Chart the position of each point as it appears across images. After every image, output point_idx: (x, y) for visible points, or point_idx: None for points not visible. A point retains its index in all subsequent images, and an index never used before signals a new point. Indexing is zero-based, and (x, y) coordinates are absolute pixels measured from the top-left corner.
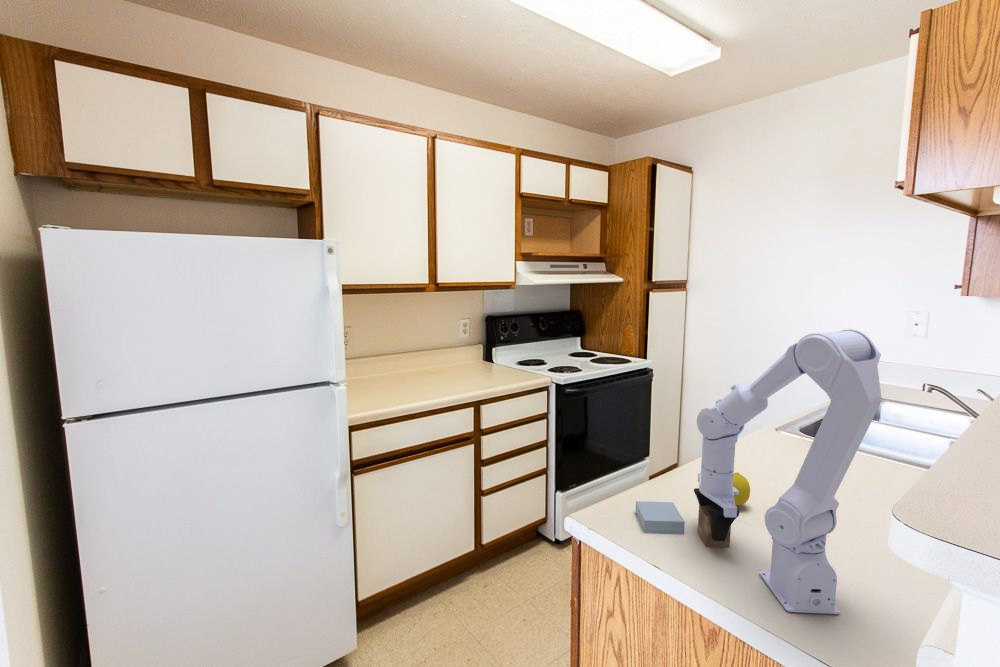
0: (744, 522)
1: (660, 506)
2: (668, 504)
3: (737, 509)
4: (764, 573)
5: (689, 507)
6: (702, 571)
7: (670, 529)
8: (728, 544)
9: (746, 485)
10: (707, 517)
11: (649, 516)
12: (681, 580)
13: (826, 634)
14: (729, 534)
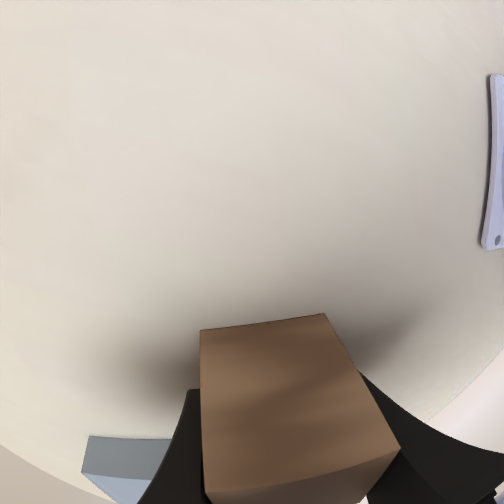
0: (26, 156)
1: (137, 498)
2: (108, 484)
3: (490, 490)
4: (495, 236)
5: (11, 377)
6: (425, 389)
7: None
8: (328, 327)
9: None
10: (359, 502)
11: None
12: (433, 415)
13: None
14: (351, 365)
